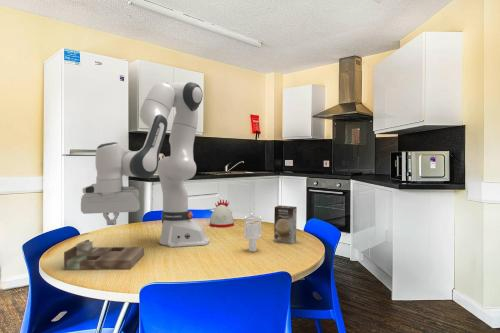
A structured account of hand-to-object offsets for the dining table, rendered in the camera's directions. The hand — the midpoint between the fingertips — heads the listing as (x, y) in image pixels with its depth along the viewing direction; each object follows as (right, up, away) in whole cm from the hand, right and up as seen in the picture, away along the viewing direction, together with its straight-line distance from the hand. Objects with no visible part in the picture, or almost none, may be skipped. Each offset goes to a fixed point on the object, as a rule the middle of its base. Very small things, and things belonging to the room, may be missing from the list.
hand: (111, 224), depth 124 cm
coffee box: (+67, -13, +32) cm, 75 cm away
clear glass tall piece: (+52, -14, +16) cm, 56 cm away
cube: (-9, -10, -1) cm, 14 cm away
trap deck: (-1, -13, -1) cm, 13 cm away
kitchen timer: (+34, -13, +71) cm, 80 cm away
